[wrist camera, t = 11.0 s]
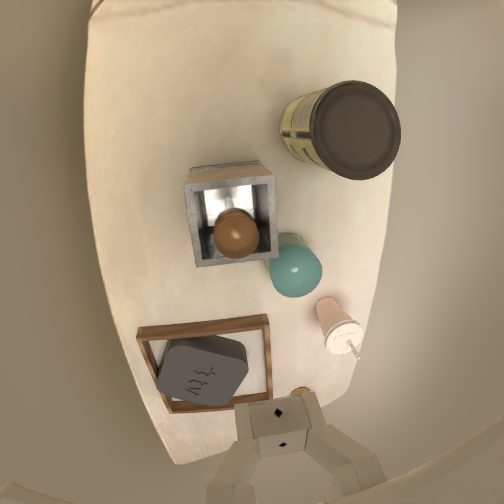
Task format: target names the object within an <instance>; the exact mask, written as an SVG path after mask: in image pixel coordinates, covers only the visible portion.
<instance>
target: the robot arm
mask: <svg viewBox="0 0 504 504" xmlns="http://www.w3.org/2000/svg"><path fill="white" fill-rule="evenodd" d="M248 404H249V406H248ZM234 410H235V419H236V427H237V436H238V441H234V442H233V444H232V446H231V447H230V449H229V451H228V452H227V454H226V455H225V457H224V459H223V460H222V462H221V463H220V465H219V467H218V468H217V470H216V471H215V473H214V474H213V476H212V477H211V479H210V480H209V482H208V484H207V485H206V487H205V488H206V504H258V500H257V496H256V493H255V489H254V486H252V485H250V482H251V480H252V478H253V476H254V473H255V472H256V469H257V467H258V465H259V463H260V461H261V458H266V457H272V456H277V455H282V454H288V453H294V452H299V451H305V452H306V453H307V454H308V455H309V456H310V457H311V458H313V459H314V460H315V461H316V462H317V463H318V464H320V465H321V466H322V467H323V468H324V469H326V470H327V471H328V472H329V473H330V474H331V475H332V477H331V480H330V482H329V484H328V485H327V487H326V493H327V497H328V500H329V501H327V502H323V503H319V504H504V414H503V415H502V416H500V417H499V418H498V419H497V420H495V421H494V422H492V423H491V424H490V425H488V426H487V427H486V428H484V429H483V430H481V431H480V432H479V433H477V434H476V435H474V436H472V437H471V438H469V439H468V440H466V441H465V442H463V443H461V444H460V445H458V446H456V447H455V448H453V449H451V450H450V451H448V452H447V453H445V454H443V455H441V456H439V457H437V458H435V459H434V460H432V461H430V462H428V463H426V464H424V465H422V466H420V467H418V468H416V469H414V470H412V471H410V472H407V473H405V474H403V475H401V476H399V477H396V478H394V479H391V480H389V481H387V478H386V476H385V474H384V472H383V469H382V467H381V464H380V462H379V460H378V458H377V455H376V453H374V452H372V451H371V450H369V449H367V448H366V447H364V446H363V445H361V444H360V443H358V442H356V441H355V440H353V439H352V438H350V437H349V436H347V435H346V434H344V433H343V432H341V431H340V430H338V429H337V428H335V427H334V426H332V425H330V424H329V425H327V424H326V422H325V419H324V416H323V414H322V411H321V408H320V405H319V403H318V400H317V397H316V395H315V393H314V392H313V391H312V392H308V393H303V394H296V395H292V396H287V397H281V398H276V399H272V400H265V401H258V402H250V403H241V404H235V405H234ZM249 411H250V412H249ZM0 504H78V503H75V502H71V501H67V500H64V499H61V498H57V497H54V496H51V495H48V494H45V493H42V492H39V491H37V490H34V489H31V488H29V487H26V486H24V485H21V484H19V483H16V482H9V483H8V484H6V485H4V486H3V487H1V488H0Z"/></svg>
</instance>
